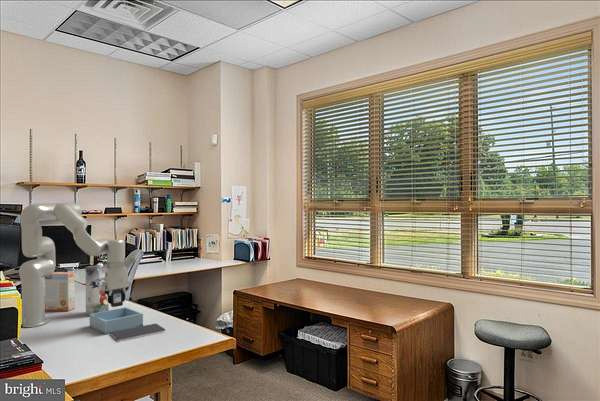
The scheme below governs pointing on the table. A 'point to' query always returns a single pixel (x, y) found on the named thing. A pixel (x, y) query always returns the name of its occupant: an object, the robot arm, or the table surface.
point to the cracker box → (59, 291)
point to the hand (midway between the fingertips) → (116, 301)
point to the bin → (116, 320)
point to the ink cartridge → (117, 298)
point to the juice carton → (95, 289)
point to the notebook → (137, 332)
